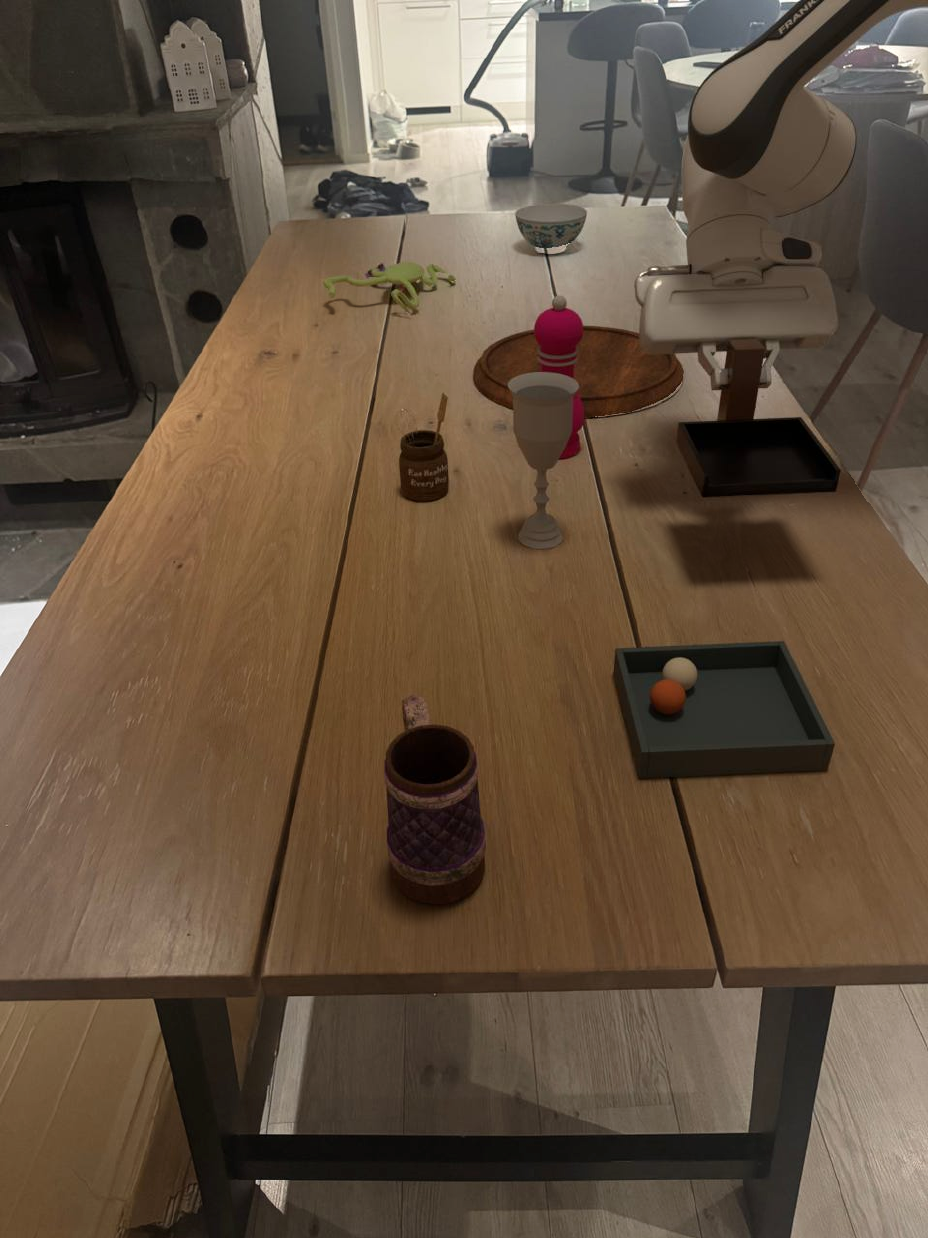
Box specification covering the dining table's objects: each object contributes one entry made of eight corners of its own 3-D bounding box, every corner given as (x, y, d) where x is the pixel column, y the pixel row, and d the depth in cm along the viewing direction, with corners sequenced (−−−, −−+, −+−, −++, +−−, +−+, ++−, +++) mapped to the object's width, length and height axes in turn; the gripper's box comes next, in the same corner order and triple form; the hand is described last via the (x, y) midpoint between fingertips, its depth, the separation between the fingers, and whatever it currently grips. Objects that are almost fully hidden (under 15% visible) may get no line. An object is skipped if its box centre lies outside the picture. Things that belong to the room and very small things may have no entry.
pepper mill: (554, 466, 118) (558, 309, 106) (516, 448, 123) (516, 295, 111) (594, 449, 122) (602, 295, 110) (556, 431, 126) (560, 282, 114)
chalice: (582, 530, 105) (590, 379, 95) (556, 559, 101) (561, 403, 90) (525, 515, 108) (526, 367, 98) (497, 543, 104) (495, 390, 93)
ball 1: (657, 690, 83) (659, 679, 80) (666, 660, 84) (668, 648, 81) (690, 700, 82) (694, 689, 79) (699, 670, 83) (703, 658, 80)
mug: (496, 898, 66) (493, 779, 58) (396, 917, 65) (381, 798, 57) (468, 793, 74) (462, 678, 67) (379, 808, 73) (364, 692, 66)
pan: (788, 425, 101) (805, 335, 96) (836, 492, 89) (859, 394, 83) (670, 430, 101) (679, 341, 96) (702, 497, 89) (715, 400, 83)
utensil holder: (394, 485, 116) (386, 394, 108) (442, 475, 117) (437, 385, 110) (409, 506, 111) (402, 413, 104) (458, 496, 113) (454, 403, 106)
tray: (778, 666, 85) (784, 640, 83) (827, 770, 74) (835, 743, 73) (613, 673, 85) (615, 648, 83) (638, 779, 74) (641, 752, 73)
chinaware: (550, 236, 207) (551, 199, 202) (600, 249, 198) (602, 210, 193) (500, 250, 200) (500, 212, 195) (549, 264, 190) (550, 224, 186)
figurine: (314, 313, 170) (310, 282, 167) (380, 272, 190) (378, 243, 186) (404, 324, 164) (401, 292, 160) (463, 280, 183) (462, 250, 180)
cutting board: (446, 406, 134) (445, 390, 133) (504, 332, 159) (503, 317, 157) (669, 427, 126) (671, 410, 125) (694, 345, 150) (695, 330, 149)
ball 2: (663, 713, 81) (665, 679, 81) (692, 716, 79) (693, 680, 79) (641, 713, 79) (643, 678, 79) (670, 715, 77) (672, 679, 77)
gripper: (638, 251, 95) (648, 379, 93) (836, 243, 96) (850, 370, 93) (628, 282, 102) (636, 402, 100) (813, 275, 102) (826, 394, 100)
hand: (741, 387), depth 97 cm, fingers closed on pan, 3 cm apart
